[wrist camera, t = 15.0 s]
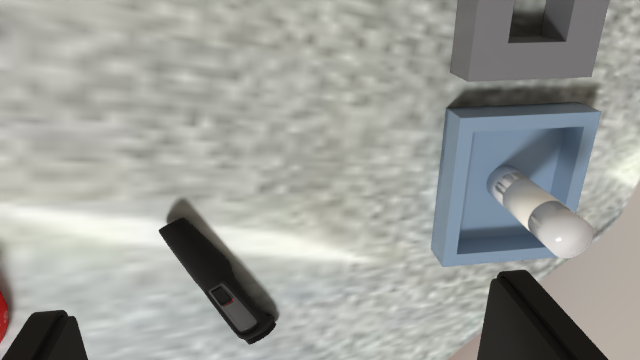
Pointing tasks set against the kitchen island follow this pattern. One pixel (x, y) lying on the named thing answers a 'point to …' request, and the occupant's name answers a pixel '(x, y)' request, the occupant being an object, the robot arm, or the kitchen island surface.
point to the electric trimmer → (217, 280)
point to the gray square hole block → (526, 41)
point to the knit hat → (3, 317)
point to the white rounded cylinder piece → (540, 212)
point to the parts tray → (500, 150)
